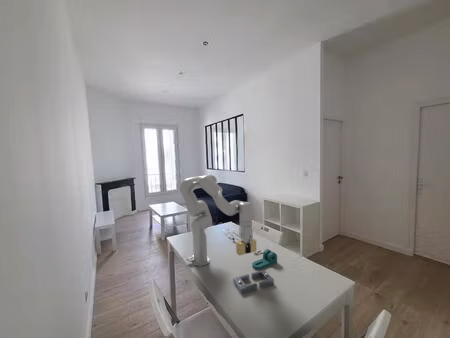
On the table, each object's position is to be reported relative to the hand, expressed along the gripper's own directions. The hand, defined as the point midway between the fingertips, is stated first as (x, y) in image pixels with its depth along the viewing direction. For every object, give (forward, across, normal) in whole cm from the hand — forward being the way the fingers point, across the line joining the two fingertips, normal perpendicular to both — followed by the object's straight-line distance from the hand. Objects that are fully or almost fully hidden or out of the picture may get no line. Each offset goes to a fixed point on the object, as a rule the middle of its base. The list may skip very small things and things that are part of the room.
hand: (246, 250), depth 127 cm
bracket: (+16, -5, +16) cm, 23 cm away
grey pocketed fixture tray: (+15, +10, 0) cm, 18 cm away
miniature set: (+16, -52, +17) cm, 57 cm away
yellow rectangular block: (+1, 0, 0) cm, 1 cm away
